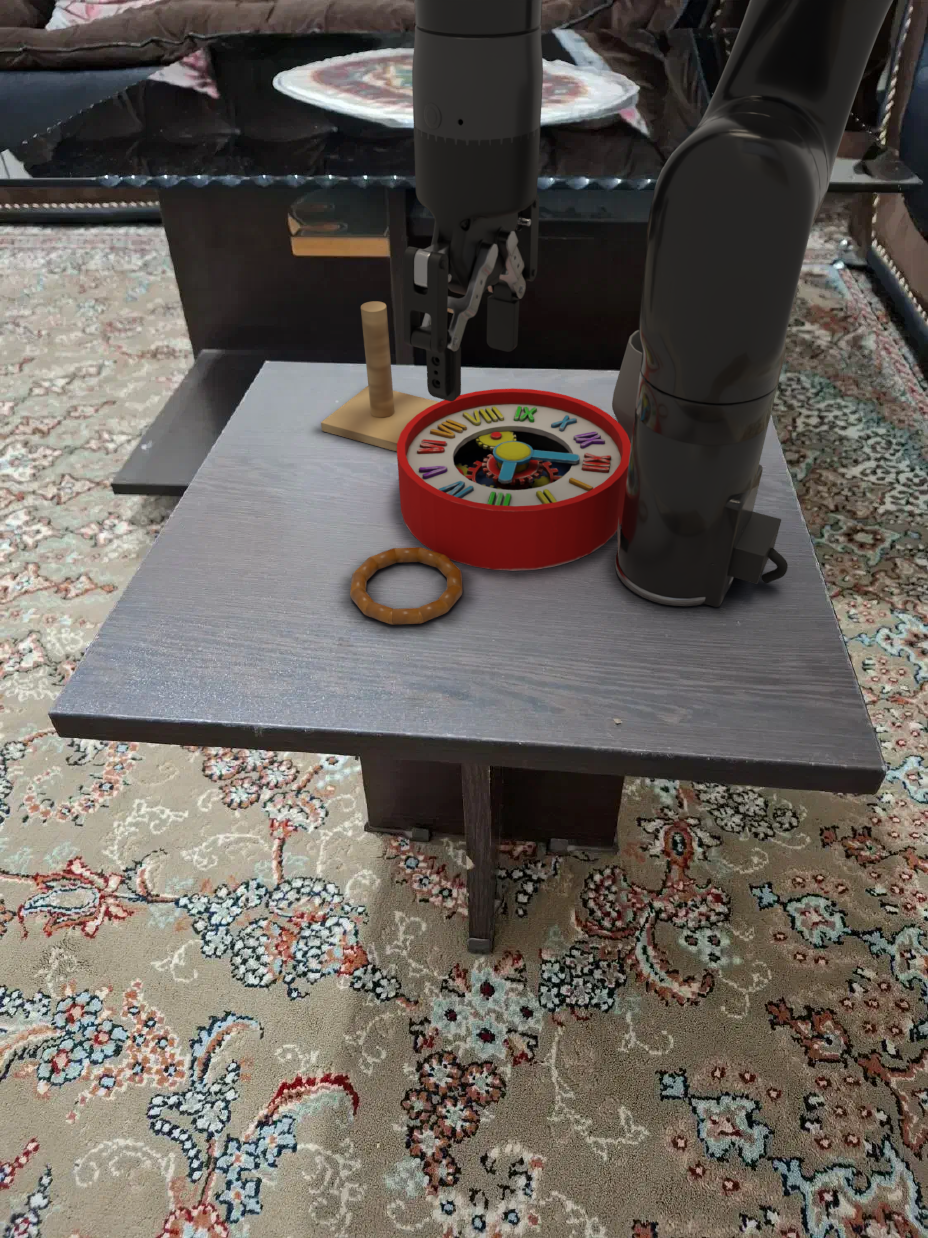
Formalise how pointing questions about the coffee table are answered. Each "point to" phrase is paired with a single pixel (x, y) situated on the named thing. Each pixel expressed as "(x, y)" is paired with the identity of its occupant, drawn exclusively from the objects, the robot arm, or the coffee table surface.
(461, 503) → the toy clock
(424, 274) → the robot arm
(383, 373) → the wooden peg stand
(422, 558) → the ring
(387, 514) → the coffee table surface
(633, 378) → the cup
